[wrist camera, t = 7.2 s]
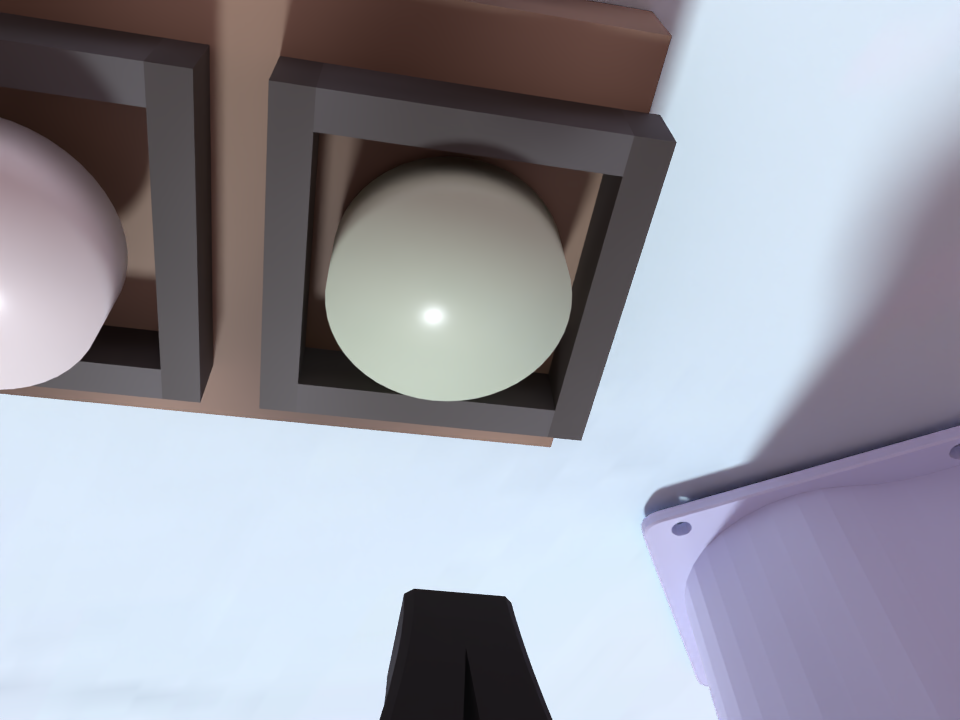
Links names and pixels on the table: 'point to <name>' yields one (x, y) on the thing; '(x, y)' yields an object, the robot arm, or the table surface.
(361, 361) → the sage button
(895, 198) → the table surface
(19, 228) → the pale pink button
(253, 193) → the button panel
